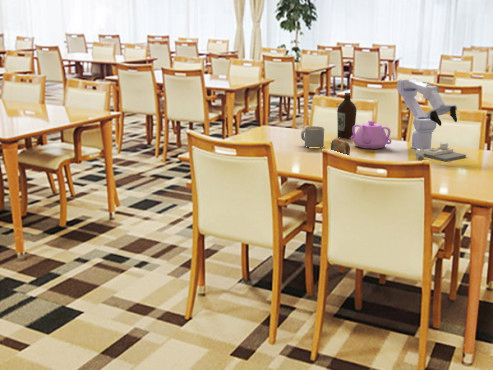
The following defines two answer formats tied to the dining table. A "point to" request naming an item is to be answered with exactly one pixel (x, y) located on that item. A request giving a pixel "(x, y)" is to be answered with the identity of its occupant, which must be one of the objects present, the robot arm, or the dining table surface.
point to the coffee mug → (313, 136)
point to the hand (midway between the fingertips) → (448, 122)
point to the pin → (420, 154)
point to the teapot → (370, 135)
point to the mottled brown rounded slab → (340, 146)
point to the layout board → (443, 153)
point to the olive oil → (346, 117)
